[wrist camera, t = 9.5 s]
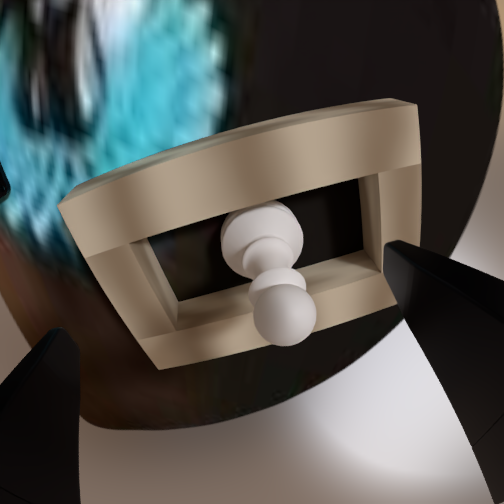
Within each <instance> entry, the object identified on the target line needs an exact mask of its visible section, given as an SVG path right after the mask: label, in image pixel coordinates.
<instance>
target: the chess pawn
mask: <svg viewBox="0 0 504 504" xmlns="http://www.w3.org/2000/svg"><path fill="white" fill-rule="evenodd" d="M220 238H221V248H222V254H223V257H224V259H225V261H226V263H227V265H228V266H229V267H230V268H231V269H232V270H233V271H235V272H236V273H238V274H240V275H242V276H244V277H248V278H251V279H253V281H252V283H251V285H250V287H249V292H248V295H249V300H250V302H251V304H252V305H253V306H254V312H253V318H254V324H255V327H256V329H257V331H258V332H259V334H260V335H261V336H262V337H263V338H264V339H265V340H266V341H268V342H270V343H272V344H274V345H279V346H290V345H294V344H297V343H299V342H301V341H303V340H304V339H305V338H306V337H307V336H308V335H309V334H310V333H311V331H312V330H313V328H314V325H315V323H316V307H315V304H314V301H313V299H312V298H311V296H310V295H309V294H308V293H307V292H306V282H305V279H304V277H303V276H302V275H301V274H300V273H299V272H297V271H296V270H294V269H291V267H292V265H293V264H294V263H295V262H296V260H297V258H298V257H299V255H300V253H301V250H302V246H303V233H302V230H301V227H300V224H299V223H298V222H297V219H296V218H295V216H294V215H293V213H292V212H291V211H290V209H289V208H287V207H286V206H285V205H283V204H282V203H280V202H277V201H275V200H270V201H267V202H263V203H260V204H256V205H252V206H249V207H245V208H242V209H238V210H235V211H231V212H230V213H229V215H228V216H227V217H226V218H225V221H224V223H223V225H222V228H221V236H220Z"/></svg>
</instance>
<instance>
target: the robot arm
mask: <svg viewBox="0 0 504 504" xmlns="http://www.w3.org/2000/svg"><path fill="white" fill-rule="evenodd" d="M2 185H3V186H4V188H5V190H4V189H3V187H2ZM9 191H10V184H9V181H8V179H7V177H6V174H5V172H4V170H3V167H2V165H1V162H0V198H1V197H3V196H5V195H6V194H7V193H8V192H9ZM383 273H384V277H385V279H386V281H387V283H388V285H389V287H390V289H391V291H392V293H393V295H394V297H395V299H396V302H397V304H398V306H399V308H400V310H401V312H402V315H403V317H404V319H405V321H406V323H407V324H408V326H409V328H410V330H411V331H412V333H413V335H414V337H415V338H416V340H417V342H418V343H419V345H420V347H421V348H422V350H423V352H424V354H425V356H426V358H427V359H428V361H429V363H430V365H431V367H432V368H433V370H434V372H435V374H436V376H437V378H438V379H439V381H440V383H441V385H442V387H443V389H444V391H445V393H446V395H447V397H448V399H449V400H450V403H451V404H452V407H453V409H454V410H455V413H456V415H457V417H458V419H459V421H460V423H461V425H462V427H463V429H464V431H465V434H466V436H467V438H468V440H469V442H470V445H471V446H472V450H473V452H474V454H475V457H476V459H477V461H478V464H479V466H480V468H481V470H482V473H483V476H484V478H485V481H486V483H487V486H488V488H489V491H490V494H491V496H492V499H493V502H494V504H499V503H502V502H504V281H503V280H501V279H498V278H496V277H494V276H491V275H489V274H487V273H484V272H482V271H479V270H477V269H475V268H472V267H470V266H467V265H464V264H462V263H460V262H457V261H455V260H452V259H450V258H447V257H445V256H442V255H439V254H437V253H434V252H432V251H429V250H426V249H424V248H421V247H418V246H416V245H413V244H410V243H407V242H405V241H402V240H394V241H390V242H387V243H386V244H385V245H384V249H383ZM79 415H80V350H79V347H78V345H77V344H76V342H75V341H74V340H73V339H72V337H71V336H70V335H69V333H68V332H67V331H66V330H65V329H64V328H63V327H58V328H53V329H51V330H49V331H48V332H47V334H46V335H45V336H44V337H43V338H42V339H41V340H40V341H39V342H38V343H37V344H36V345H35V346H34V347H33V348H32V349H31V351H30V352H29V353H28V354H27V355H26V356H25V357H24V358H23V359H22V360H21V362H20V363H19V364H18V365H17V366H16V367H15V368H14V370H13V371H12V372H11V373H10V374H9V375H8V376H7V377H6V379H5V380H4V381H3V382H2V383H1V385H0V504H81V501H80V486H79Z"/></svg>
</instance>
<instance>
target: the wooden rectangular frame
mask: <svg viewBox="0 0 504 504" xmlns="http://www.w3.org/2000/svg"><path fill="white" fill-rule="evenodd" d="M355 178H358V183H359V193H360V203H361V216H362V229H363V246H364V249H363V250H360V251H357V252H354V253H350V254H347V255H344V256H340V257H337V258H334V259H330V260H327V261H324V262H320V263H317V264H314V265H310V266H307V267H303V268H300V269H296V271H297V272H299V273H300V274H301V275H302V276H303V277H304V279H305V282H306V292H307V293H308V294H309V295H310V296H311V298H312V299H313V301H314V304H315V307H316V323H315V325H314V328H313V330H312V331H311V333H312V332H315V331H318V330H322V329H325V328H328V327H331V326H334V325H337V324H340V323H343V322H346V321H349V320H352V319H355V318H358V317H361V316H364V315H367V314H370V313H373V312H376V311H378V310H381V309H384V308H387V307H389V306H392V305H395V304H397V302H396V299H395V297H394V295H393V293H392V291H391V289H390V287H389V285H388V283H387V281H386V279H385V277H384V273H383V249H384V245H385V244H386V243H387V242H390V241H394V240H402V241H405V242H407V243H410V244H413V245H416V246H418V247H419V246H420V229H421V150H420V133H419V120H418V110H417V105H416V104H412V103H408V102H404V101H400V100H396V99H391V98H387V99H379V100H372V101H364V102H358V103H351V104H345V105H339V106H334V107H328V108H323V109H317V110H312V111H307V112H302V113H298V114H293V115H288V116H284V117H280V118H275V119H271V120H267V121H263V122H259V123H255V124H251V125H247V126H243V127H240V128H236V129H232V130H229V131H225V132H222V133H218V134H215V135H212V136H208V137H205V138H202V139H199V140H195V141H192V142H189V143H186V144H183V145H180V146H177V147H174V148H171V149H168V150H165V151H162V152H159V153H157V154H154V155H151V156H148V157H146V158H143V159H140V160H137V161H135V162H132V163H130V164H127V165H124V166H122V167H119V168H117V169H114V170H112V171H110V172H107V173H105V174H102V175H100V176H98V177H95V178H93V179H91V180H88V181H86V182H84V183H81V184H79V185H77V186H76V187H75V188H73V189H72V190H71V191H70V193H69V194H68V195H67V196H66V197H65V198H64V199H63V200H62V201H61V202H60V203H59V204H58V205H57V206H58V209H59V211H60V213H61V215H62V217H63V219H64V221H65V223H66V225H67V227H68V228H69V230H70V232H71V234H72V236H73V238H74V240H75V242H76V244H77V245H78V247H79V249H80V251H81V253H82V254H83V256H84V258H85V260H86V262H87V263H88V265H89V267H90V268H91V270H92V272H93V274H94V275H95V277H96V279H97V280H98V282H99V284H100V285H101V287H102V288H103V290H104V292H105V293H106V295H107V296H108V298H109V300H110V301H111V303H112V304H113V306H114V307H115V309H116V310H117V312H118V314H119V315H120V317H121V318H122V320H123V321H124V322H125V324H126V325H127V327H128V328H129V330H130V331H131V333H132V334H133V336H134V337H135V338H136V340H137V341H138V343H139V344H140V345H141V347H142V348H143V350H144V351H145V352H146V354H147V355H148V356H149V358H150V359H151V360H152V362H153V363H154V364H155V366H156V367H157V368H158V370H161V369H166V368H172V367H177V366H182V365H186V364H191V363H196V362H201V361H205V360H210V359H214V358H218V357H223V356H227V355H231V354H235V353H239V352H243V351H247V350H251V349H255V348H259V347H263V346H266V345H270V344H272V343H270V342H268V341H266V340H265V339H264V338H263V337H262V336H261V335H260V334H259V332H258V331H257V329H256V327H255V324H254V318H253V312H254V306H253V305H252V304H251V302H250V300H249V295H248V292H249V287H250V285H251V283H252V282H251V283H247V284H244V285H240V286H236V287H233V288H229V289H225V290H222V291H218V292H214V293H211V294H207V295H203V296H199V297H196V298H192V299H188V300H184V301H181V302H178V300H177V298H176V296H175V294H174V292H173V291H172V289H171V287H170V285H169V283H168V281H167V279H166V277H165V275H164V273H163V271H162V269H161V266H160V264H159V262H158V260H157V258H156V256H155V254H154V252H153V250H152V248H151V246H150V243H149V241H148V239H147V237H150V236H153V235H156V234H159V233H162V232H165V231H168V230H172V229H175V228H178V227H181V226H185V225H188V224H191V223H194V222H198V221H201V220H204V219H208V218H211V217H214V216H218V215H221V214H225V213H228V212H231V211H235V210H238V209H242V208H245V207H249V206H252V205H256V204H260V203H263V202H267V201H270V200H274V199H278V198H281V197H285V196H289V195H293V194H296V193H300V192H304V191H308V190H312V189H315V188H319V187H323V186H327V185H331V184H335V183H339V182H343V181H347V180H351V179H355Z"/></svg>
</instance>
